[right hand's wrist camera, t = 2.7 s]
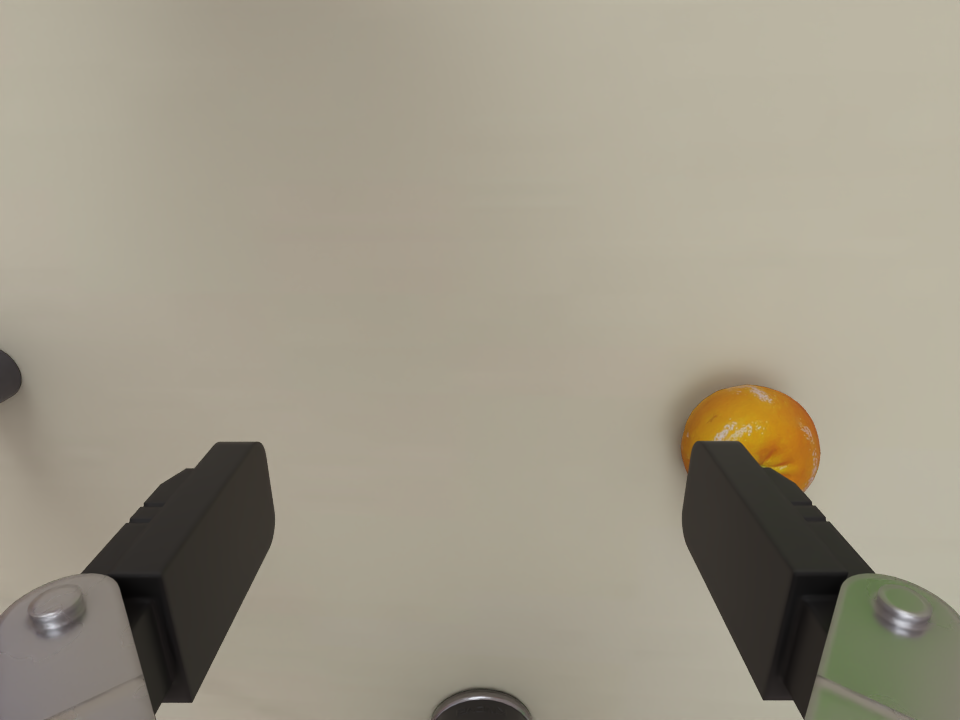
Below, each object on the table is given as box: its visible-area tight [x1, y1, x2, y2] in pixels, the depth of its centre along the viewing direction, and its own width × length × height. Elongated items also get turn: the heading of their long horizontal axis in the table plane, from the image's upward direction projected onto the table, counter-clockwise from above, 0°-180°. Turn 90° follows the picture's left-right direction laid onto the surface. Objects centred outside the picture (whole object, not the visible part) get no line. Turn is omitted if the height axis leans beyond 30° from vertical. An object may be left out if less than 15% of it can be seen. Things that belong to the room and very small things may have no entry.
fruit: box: [681, 385, 820, 492], centre depth 40 cm, size 8×8×8 cm
